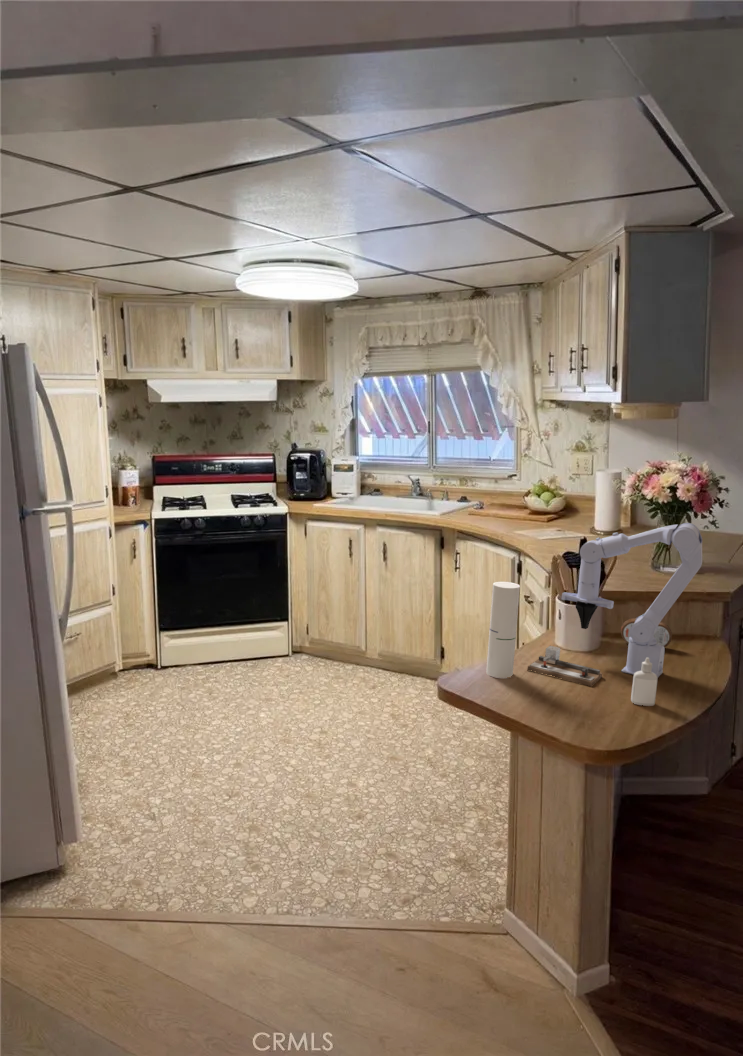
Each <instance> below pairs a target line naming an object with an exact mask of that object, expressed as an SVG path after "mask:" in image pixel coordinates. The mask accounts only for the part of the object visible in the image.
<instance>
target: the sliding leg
mask: <svg viewBox="0 0 743 1056" xmlns="http://www.w3.org/2000/svg"><path fill="white" fill-rule="evenodd" d="M560 652H561V647H557V646H554V645H548V646H547V647H546V648H545V656H544V657H545V658H544V659H543V661H544V665H543V666H546V662H547V663H551V664H556V660H560V656H561V653H560Z"/></svg>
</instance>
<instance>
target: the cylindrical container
mask: <svg viewBox="0 0 743 1056" xmlns="http://www.w3.org/2000/svg"><path fill="white" fill-rule="evenodd" d="M520 590H521V586H520V584H518V583H515V582H511V581H496V582H495V581H494V582H493V583H492V591H491V592H492V593H491V606H490V618H489V619H490V620H489V632H488V633H489V634H488V643H487V659H486V670H485V671H486V675H487V676H490V677H492V678H495V679H508V678H507V677H510V676H512V675H514V663H515V649H516V637H517V627H518V616H519V615H518V613H519V603H520V602H519V600H520ZM512 677H513V676H512ZM510 678H511V677H510Z"/></svg>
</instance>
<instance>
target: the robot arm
mask: <svg viewBox="0 0 743 1056" xmlns="http://www.w3.org/2000/svg"><path fill="white" fill-rule="evenodd" d="M659 542H660V543H663V544H665V545H668V546H670V545H671V544H673V546H674V548H675V549H676V550H677V552H679V557H680V560H681V563H680V565H679V566H678V568H677V569H676V571H675V572H674V573H673V574H672V576H671V577H670V578H669V580H668V581H667V583H666V584H665V586H664V587H663V588H662V590H661V591H660V593H659V594H658V595H657V596H656V598H655V599H654V601H653V602H652V603H651V604H650V606H649V607H648V609H646V611H645V612H644V613H642V615H639V616H637V617H636V620H635V623H634V624H633V625H632V627H631V628H630V636H631V637H629V644H628V645H627V647H628V648H627V655H626V656H627V657H626V664H625V666H624V667H623V668H622V669H621V673H625V674H628V675H633V676H634V673H635V672H637V671H641V667H642V662H644V661H645V660H646V658H649V661H650V663H652V670H651V672H652V673H654V674H656V676H657V678H659V677H660V676H661V675H662V674H663V669H664V668H663V667H664V659H665V652H666V651H665V648H664V646H661V645H659V644H657V643H656V640H655V638H654V634H655V633H656V631H657V629H658V625H659V623H660V622H662V621H663V619H664V617H665V616H666V615H667V613H668V612H669V610H670V609H671V608H672V607H673V606H674V604H675V603H676V602H677V599H679V597H680V596H681V594H682V593H683V592H684V590H686V588H687V587H688V585H689V583H690V582H691V581H692V579H694V577H695V575H697V573H698V571H699V570H700V569H701V568H702V565H703V537H702V534H701V531H700V529H699V527H698V526H696V525H695V523H694V524H693V523H690V522H684V523H682V524H671V525H666V526H662V527H658V528H654V529H649V530H646V531H643V532H640V533H636V534H633V535H626V534H625V533H623V532H622V533H619V532H613V533H612V535H610V536H606V537H605V536H604V537H603V538H601V537H599V536H598V537H597V538H595V539H592V540H588V541H586V542H585V543H583V545H581V547H580V549H579V557H580V566H579V567H580V568H579V576H578V585H577V593H574V592H565V591H564V592H562V593H561V600H562V601H570V602H576V604H575V605H574V606H575V609H576V611H577V614H578V617H579V620H580V621H579V622H580V628H581V629H583V630H587V629H589V625H590V621H591V620H592V617H593V615H594V614H595V612H596V610H597V609H598V607H602V608H607V609H608V610H612V609H613V608H614V603H615V602H614V600H610V599H606V598H603V597H599V593H600V580H601V571H602V567H601V565H602V564H601V563H602V558H603V559H609V558H612V557H616V556H621V555H622V556H623V555H626V554H628V553H629V552H630V551H631V548H635V547H639V546H645V545H649V544H654V543H659Z"/></svg>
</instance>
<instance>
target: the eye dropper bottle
mask: <svg viewBox="0 0 743 1056" xmlns="http://www.w3.org/2000/svg"><path fill="white" fill-rule="evenodd" d="M651 670H652V663H650V661H649V658H646V660H645V661H644V662H642V667H641V671H637V672H635V673H634V675H633V677H632V686H631V694H630V695H631V696H630V702H631V703H632V704H633V703H634V705H638V706H642V705H643V707H653V706H655V703H656V698H657V697H656V696H657V687H658V680H659V679H658V678H659V677H658V678H657V676H656V674H654V673H652V672H651Z"/></svg>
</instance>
